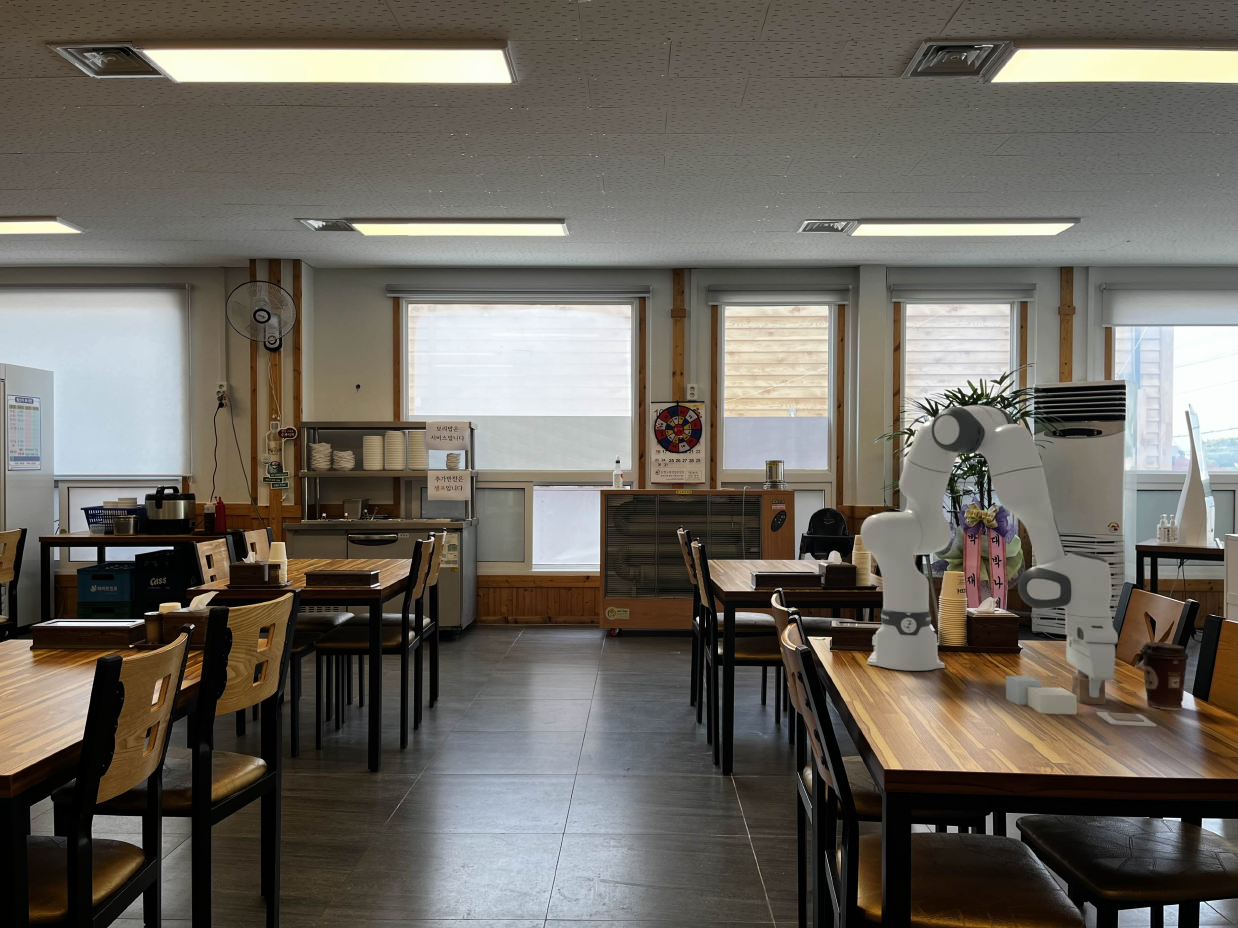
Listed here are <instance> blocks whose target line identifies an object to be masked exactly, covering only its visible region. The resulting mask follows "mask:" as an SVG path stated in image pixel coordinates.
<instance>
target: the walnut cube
mask: <svg viewBox="0 0 1238 928" xmlns="http://www.w3.org/2000/svg"><path fill="white" fill-rule="evenodd" d="M1071 676H1072V681H1071V682H1072V686H1071V687H1072V688H1071V689H1072V691H1071V693H1073V694H1074V695H1076V696H1077V703H1079V704H1089V705H1091V704H1092V705H1106V680H1102V682H1101V685H1100V688H1099V697H1091V696H1089V695H1088V687H1089V681H1090V680H1089V676H1088V675H1077V674H1072V675H1071Z"/></svg>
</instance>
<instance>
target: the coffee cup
mask: <svg viewBox="0 0 1238 928" xmlns="http://www.w3.org/2000/svg"><path fill="white" fill-rule="evenodd" d="M1139 652H1140V653H1141V654H1142V655H1143V662H1142V667H1143V678H1144V688H1145V692H1146V702H1147V703H1146V704H1147V705H1148V706H1151V707H1153V708H1157V709H1162V710H1168V711H1181V710H1182V709H1183V705H1182V702H1183V700H1184V691H1185V688H1184V687H1185V679H1186V671H1187V661H1188V660H1189V658H1190V657H1189V654H1188V653H1187V652H1186V650H1185V647H1184V646H1181V645H1178V644H1171V643H1167V642H1159V641H1158V642H1157V641H1147V642H1145V644H1143V646H1142V648H1141V649H1140V650H1139Z"/></svg>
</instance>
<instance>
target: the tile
mask: <svg viewBox="0 0 1238 928" xmlns="http://www.w3.org/2000/svg"><path fill="white" fill-rule="evenodd" d="M1096 715H1098V716H1099V717H1100V718H1101V719H1103V720H1104V721H1106V722H1107V723H1108V724H1110V725H1117V726H1118V725H1121V726H1135V727H1136V726H1139V727H1157V724H1156V723H1154V722H1153V721H1151V720H1150V719H1148V718H1147V717H1145V716H1144V715H1142V714H1140V713H1121V712H1107V711H1106V712H1102V711H1097V712H1096Z"/></svg>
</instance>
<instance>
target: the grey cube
mask: <svg viewBox="0 0 1238 928" xmlns="http://www.w3.org/2000/svg"><path fill="white" fill-rule="evenodd" d="M1028 687H1042V680H1041V679H1040V680H1039V679H1037V678H1035V677H1032V676H1030V675H1018V676H1017V675H1014V676H1013V675H1006V676H1005V694H1006V695H1005V700H1007V701H1010V702H1012V703H1014V704H1016V705H1017V706H1018V705H1020V706H1021V705H1022V706H1023V705H1026V706H1028V705H1027V694H1028Z"/></svg>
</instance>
